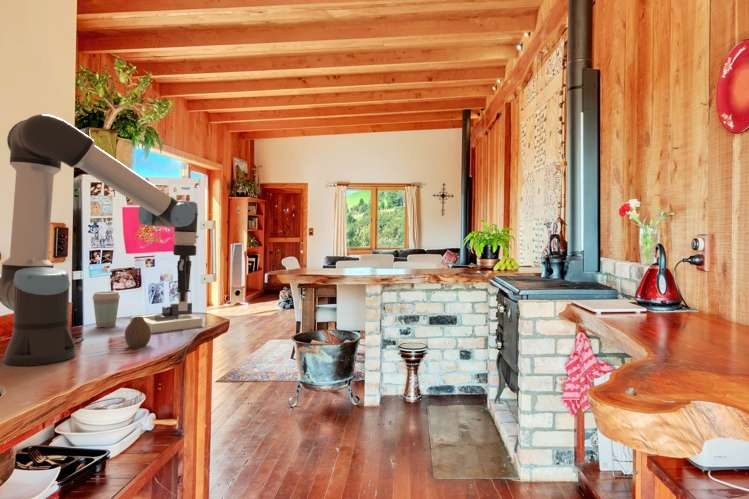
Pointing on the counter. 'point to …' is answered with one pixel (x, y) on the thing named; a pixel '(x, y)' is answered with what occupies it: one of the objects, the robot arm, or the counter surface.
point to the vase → (137, 333)
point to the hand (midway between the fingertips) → (182, 310)
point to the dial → (172, 312)
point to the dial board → (171, 323)
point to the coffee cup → (106, 308)
